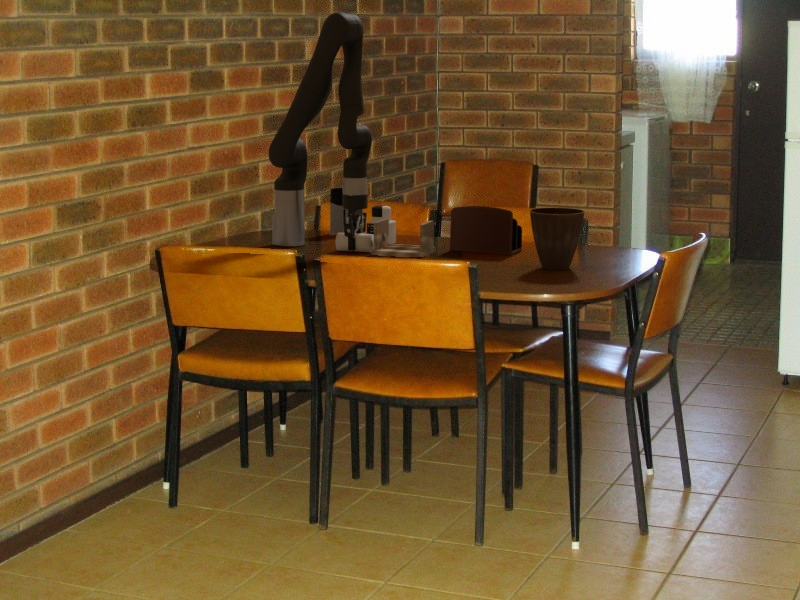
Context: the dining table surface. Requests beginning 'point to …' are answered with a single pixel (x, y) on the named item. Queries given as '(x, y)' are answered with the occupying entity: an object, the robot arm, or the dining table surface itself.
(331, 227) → the glass holder
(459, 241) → the letter holder
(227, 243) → the dining table surface
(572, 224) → the plant pot
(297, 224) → the robot arm
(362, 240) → the paper roll
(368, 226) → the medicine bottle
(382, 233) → the roll holder
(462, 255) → the dining table surface
